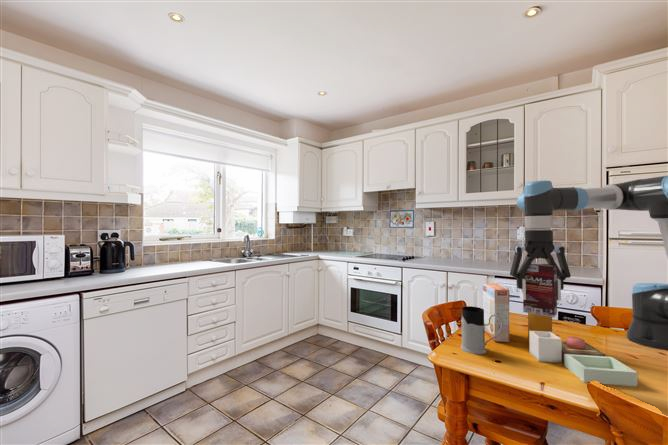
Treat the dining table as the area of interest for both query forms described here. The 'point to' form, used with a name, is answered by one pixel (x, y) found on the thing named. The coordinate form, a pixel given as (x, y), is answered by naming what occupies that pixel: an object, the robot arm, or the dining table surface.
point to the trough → (600, 369)
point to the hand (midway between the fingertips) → (539, 299)
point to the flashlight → (539, 323)
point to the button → (575, 343)
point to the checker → (580, 351)
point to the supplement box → (541, 290)
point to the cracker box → (496, 311)
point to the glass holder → (474, 330)
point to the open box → (545, 346)
